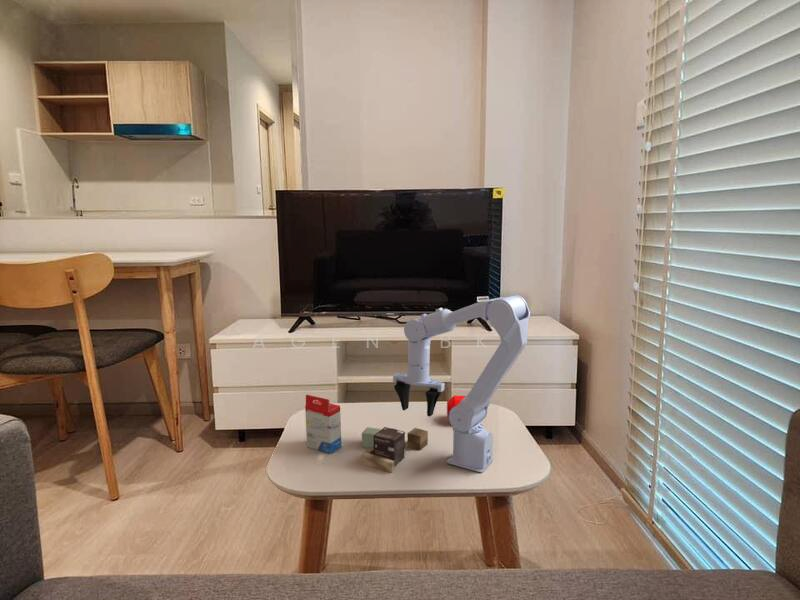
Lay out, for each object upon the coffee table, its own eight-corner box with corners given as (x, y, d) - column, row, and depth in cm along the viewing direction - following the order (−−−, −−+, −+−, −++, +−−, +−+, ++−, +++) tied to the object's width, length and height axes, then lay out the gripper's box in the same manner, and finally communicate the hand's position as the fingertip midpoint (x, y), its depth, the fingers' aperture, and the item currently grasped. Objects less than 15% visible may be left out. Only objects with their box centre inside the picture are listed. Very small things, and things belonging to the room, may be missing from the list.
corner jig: (410, 457, 122) (410, 448, 121) (391, 472, 114) (391, 463, 114) (381, 449, 126) (381, 440, 126) (361, 463, 119) (361, 453, 118)
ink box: (342, 447, 128) (341, 394, 125) (330, 454, 123) (329, 400, 121) (317, 440, 132) (316, 389, 130) (305, 446, 128) (304, 394, 126)
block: (380, 442, 130) (380, 428, 130) (375, 449, 127) (375, 434, 126) (367, 440, 132) (367, 427, 131) (361, 447, 128) (361, 432, 127)
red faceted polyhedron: (446, 416, 149) (446, 393, 148) (472, 417, 148) (472, 393, 147) (447, 427, 141) (448, 402, 140) (475, 427, 140) (475, 402, 139)
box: (372, 462, 119) (372, 435, 118) (384, 453, 124) (384, 426, 123) (394, 468, 116) (394, 440, 115) (405, 458, 121) (405, 430, 120)
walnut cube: (427, 445, 129) (427, 431, 129) (420, 450, 126) (420, 436, 125) (414, 441, 131) (414, 427, 131) (407, 447, 128) (407, 432, 127)
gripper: (450, 363, 125) (448, 412, 127) (402, 355, 132) (401, 402, 134) (438, 370, 119) (436, 422, 121) (389, 361, 126) (388, 410, 128)
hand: (417, 412), depth 127 cm, fingers open, 7 cm apart
